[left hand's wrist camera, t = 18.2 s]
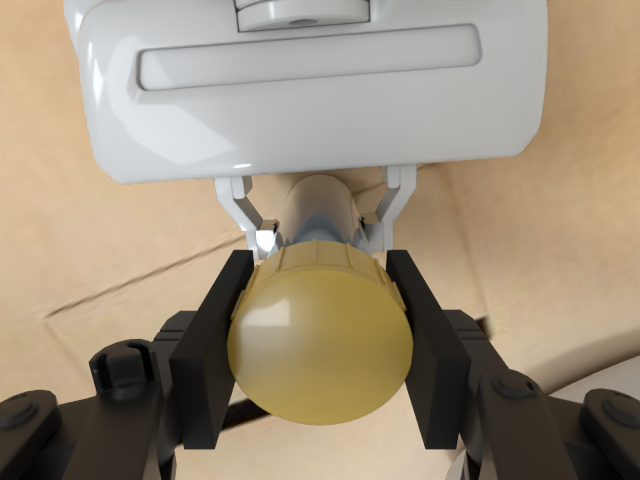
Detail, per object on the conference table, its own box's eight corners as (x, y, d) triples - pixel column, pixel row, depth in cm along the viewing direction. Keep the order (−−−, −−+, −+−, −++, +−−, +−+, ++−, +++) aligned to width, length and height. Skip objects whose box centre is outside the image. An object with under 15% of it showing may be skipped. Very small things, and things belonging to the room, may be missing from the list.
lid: (345, 396, 14) (350, 450, 12) (215, 335, 13) (194, 382, 11) (430, 286, 12) (454, 325, 10) (288, 208, 11) (281, 232, 9)
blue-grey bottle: (279, 228, 26) (227, 383, 11) (296, 165, 24) (262, 251, 10) (342, 246, 26) (368, 416, 12) (363, 184, 25) (422, 295, 10)
